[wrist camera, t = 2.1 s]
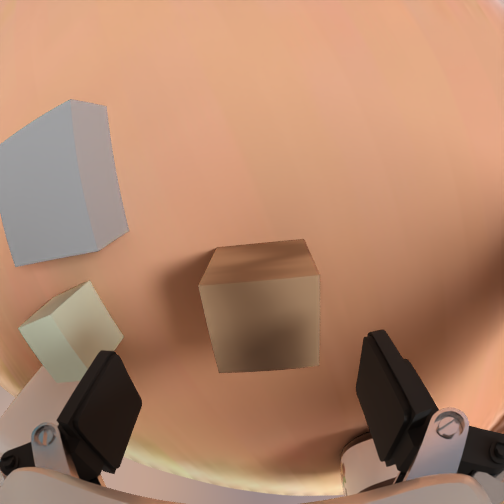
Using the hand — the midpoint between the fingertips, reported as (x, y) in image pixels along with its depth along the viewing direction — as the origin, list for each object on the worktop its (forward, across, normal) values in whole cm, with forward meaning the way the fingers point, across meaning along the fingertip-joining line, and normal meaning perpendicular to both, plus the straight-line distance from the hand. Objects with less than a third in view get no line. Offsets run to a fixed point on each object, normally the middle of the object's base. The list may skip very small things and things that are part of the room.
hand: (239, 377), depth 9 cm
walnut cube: (+8, -1, 0) cm, 8 cm away
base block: (+8, +11, -8) cm, 16 cm away
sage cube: (+8, +13, +2) cm, 15 cm away
